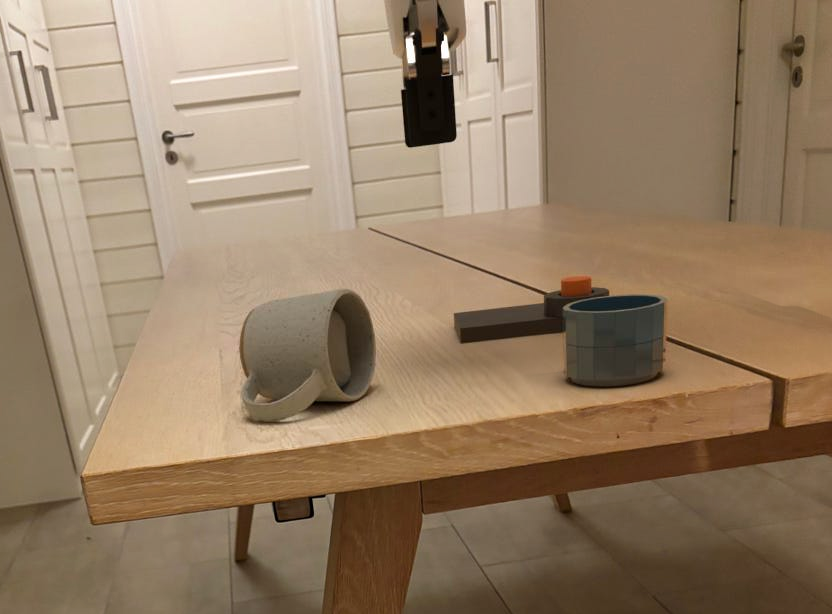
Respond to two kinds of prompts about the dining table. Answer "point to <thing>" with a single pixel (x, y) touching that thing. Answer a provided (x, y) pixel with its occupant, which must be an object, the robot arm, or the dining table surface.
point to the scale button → (576, 286)
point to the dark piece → (518, 318)
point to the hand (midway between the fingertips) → (429, 144)
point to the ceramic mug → (306, 353)
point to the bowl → (614, 339)
